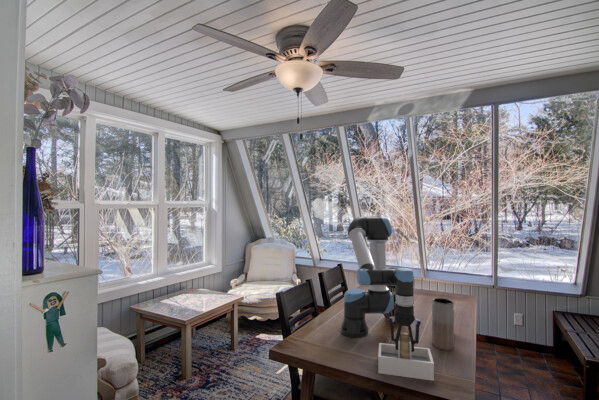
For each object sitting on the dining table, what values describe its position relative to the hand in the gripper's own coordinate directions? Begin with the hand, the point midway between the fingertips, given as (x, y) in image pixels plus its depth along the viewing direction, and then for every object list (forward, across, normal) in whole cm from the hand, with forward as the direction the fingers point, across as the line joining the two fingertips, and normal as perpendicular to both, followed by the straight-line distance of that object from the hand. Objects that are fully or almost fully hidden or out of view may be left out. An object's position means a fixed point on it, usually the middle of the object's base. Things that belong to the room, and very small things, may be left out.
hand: (404, 357), depth 140 cm
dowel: (+4, 0, 0) cm, 4 cm away
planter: (+5, +20, +29) cm, 36 cm away
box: (+5, 0, 0) cm, 5 cm away
